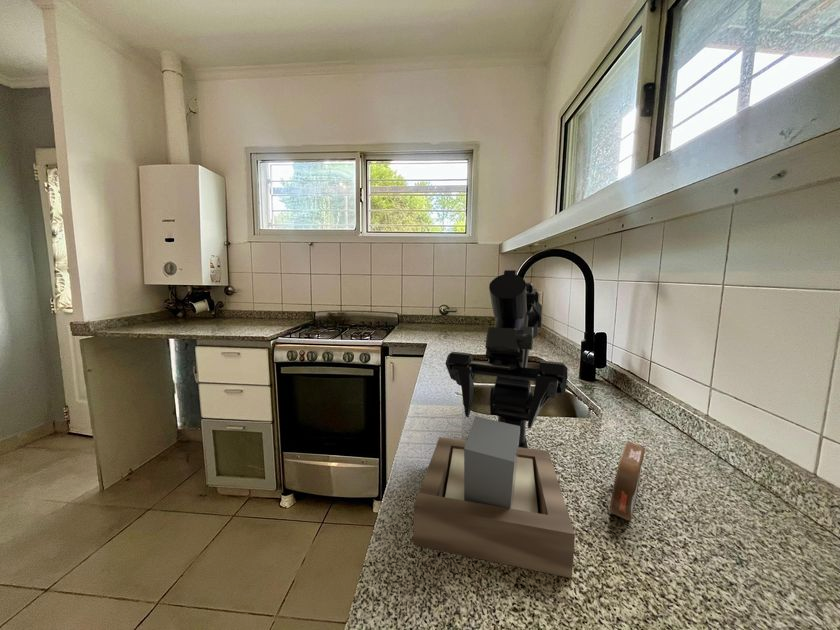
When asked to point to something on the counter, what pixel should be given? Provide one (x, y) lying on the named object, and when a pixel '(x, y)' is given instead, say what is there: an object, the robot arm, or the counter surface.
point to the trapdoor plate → (523, 482)
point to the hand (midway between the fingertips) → (496, 421)
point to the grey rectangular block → (491, 462)
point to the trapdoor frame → (496, 519)
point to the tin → (627, 481)
